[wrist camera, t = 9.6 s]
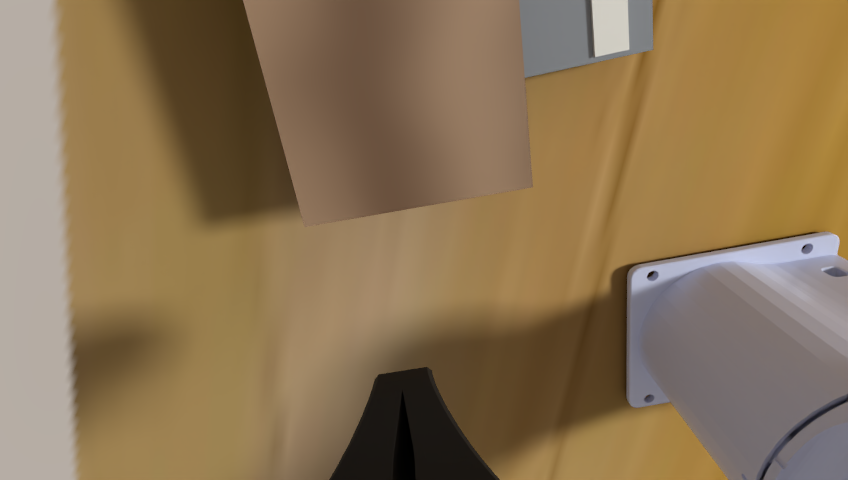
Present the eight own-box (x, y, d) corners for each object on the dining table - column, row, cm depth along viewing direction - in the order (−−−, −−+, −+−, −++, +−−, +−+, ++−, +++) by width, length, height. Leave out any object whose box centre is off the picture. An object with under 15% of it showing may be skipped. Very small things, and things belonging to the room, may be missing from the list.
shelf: (484, -227, 16) (520, -308, 12) (516, 151, 21) (549, 184, 17) (226, -183, 16) (174, -251, 12) (319, 185, 21) (304, 226, 17)
